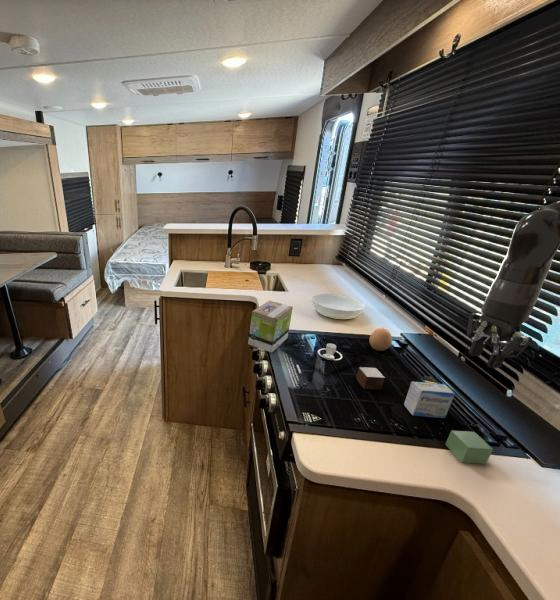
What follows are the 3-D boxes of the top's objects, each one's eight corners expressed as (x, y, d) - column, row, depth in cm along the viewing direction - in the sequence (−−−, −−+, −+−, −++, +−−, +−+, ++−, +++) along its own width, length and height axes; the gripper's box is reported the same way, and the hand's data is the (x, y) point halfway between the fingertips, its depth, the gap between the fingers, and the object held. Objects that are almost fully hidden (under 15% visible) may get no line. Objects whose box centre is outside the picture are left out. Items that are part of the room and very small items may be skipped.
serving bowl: (361, 328, 130) (365, 314, 127) (307, 318, 140) (310, 305, 137) (360, 311, 146) (364, 297, 143) (312, 303, 156) (314, 290, 153)
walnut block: (372, 381, 97) (375, 367, 96) (380, 391, 93) (385, 377, 91) (355, 380, 98) (358, 367, 96) (363, 390, 93) (367, 376, 91)
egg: (391, 350, 113) (397, 328, 110) (384, 357, 110) (391, 334, 106) (371, 343, 118) (377, 322, 115) (364, 349, 115) (369, 327, 111)
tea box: (272, 354, 113) (277, 318, 107) (247, 345, 119) (250, 310, 114) (288, 339, 123) (293, 305, 117) (264, 331, 129) (268, 299, 124)
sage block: (466, 447, 73) (474, 431, 72) (484, 465, 69) (493, 449, 67) (444, 446, 74) (451, 430, 72) (460, 464, 69) (468, 447, 67)
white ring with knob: (330, 364, 106) (332, 354, 105) (311, 353, 113) (313, 343, 111) (347, 357, 110) (349, 348, 108) (327, 347, 116) (329, 338, 115)
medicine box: (411, 417, 83) (421, 391, 80) (402, 405, 87) (411, 380, 84) (444, 420, 82) (456, 393, 78) (434, 408, 86) (444, 382, 82)
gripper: (563, 311, 63) (528, 379, 70) (500, 287, 76) (475, 346, 83) (522, 310, 64) (491, 377, 71) (467, 287, 77) (445, 345, 84)
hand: (483, 360), depth 77 cm, fingers open, 4 cm apart
